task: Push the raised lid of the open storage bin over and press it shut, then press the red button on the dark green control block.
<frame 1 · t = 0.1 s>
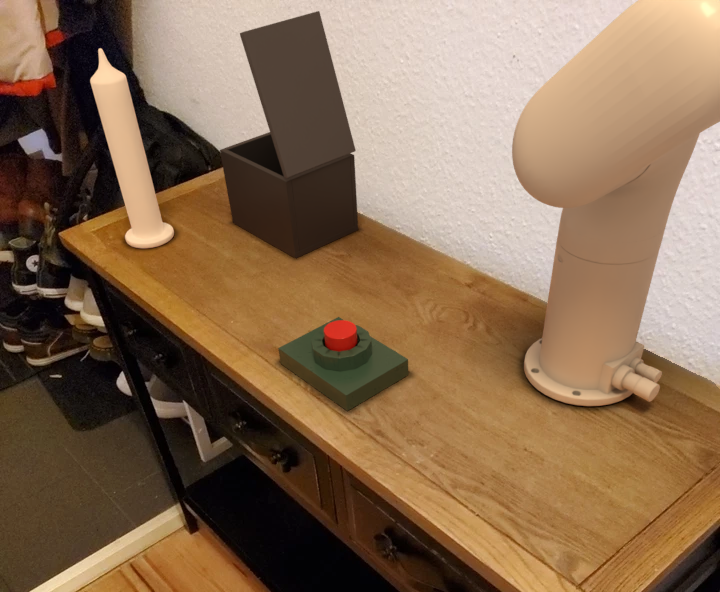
red button: (340, 335, 81), point 5 cm above the table, slide at 0.2 cm
open storage bin: (294, 226, 110), on the table
candle: (150, 238, 110), on the table
lid: (301, 96, 93), point 19 cm above the table, hinge at 70.0°
control block: (343, 369, 84), on the table
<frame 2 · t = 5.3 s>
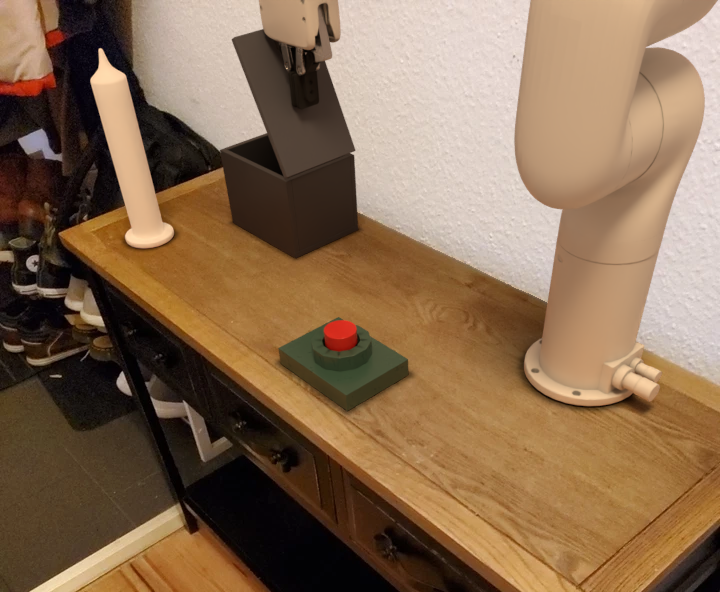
hand: (305, 104, 94), 18 cm above the table, tool pointing down, fingers closed
lid: (297, 98, 94), point 19 cm above the table, hinge at 62.2°, touching gripper
everything else where it was.
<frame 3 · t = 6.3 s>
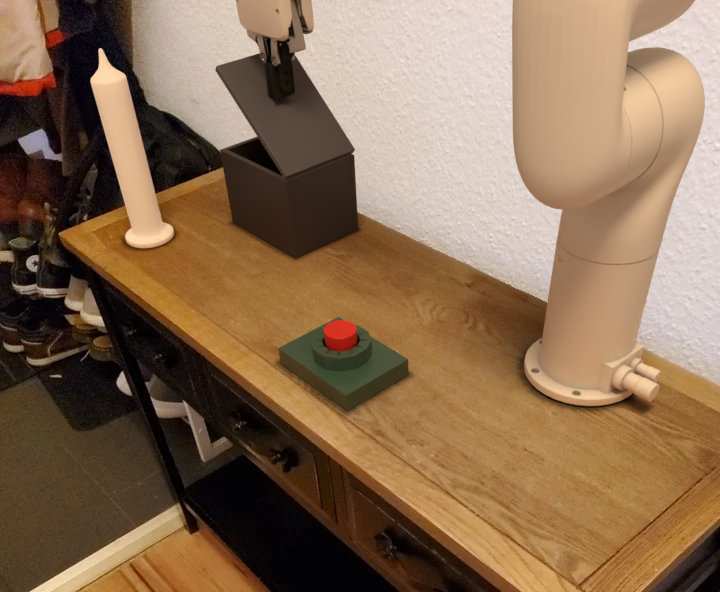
hand: (281, 95, 96), 18 cm above the table, tool pointing down, fingers closed
lid: (286, 110, 97), point 16 cm above the table, hinge at 39.2°
everything else where it was.
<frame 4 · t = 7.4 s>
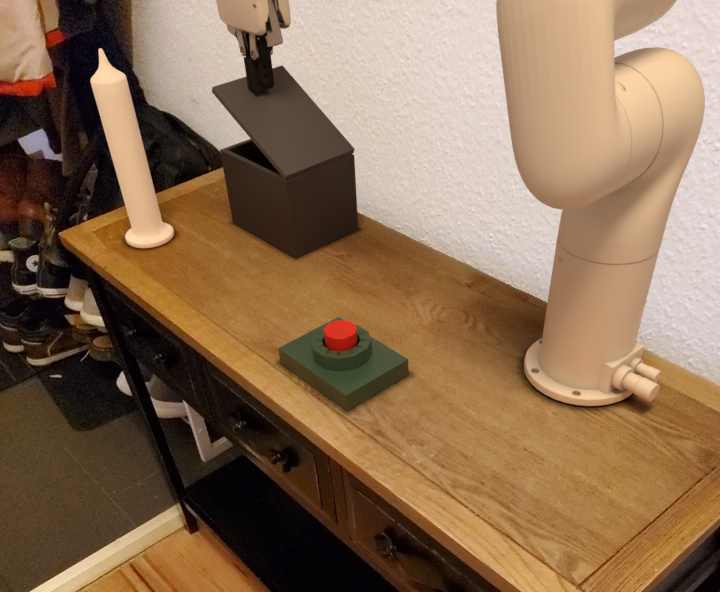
hand: (261, 88, 99), 18 cm above the table, tool pointing down, fingers closed
lid: (283, 120, 99), point 15 cm above the table, hinge at 27.1°, touching gripper
everything else where it was.
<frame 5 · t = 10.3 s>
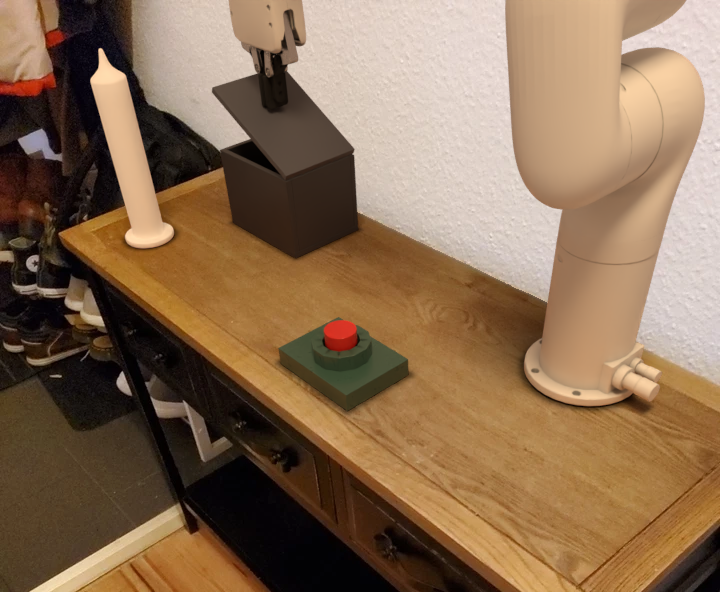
hand: (275, 105, 98), 17 cm above the table, tool pointing down, fingers closed
nothing on the table moved.
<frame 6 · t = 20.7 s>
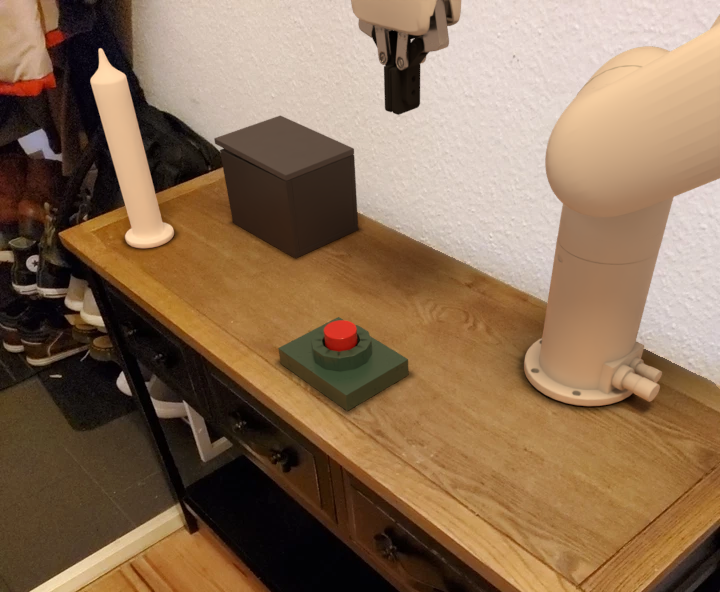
hand: (402, 108, 72), 25 cm above the table, tool pointing down, fingers closed
lid: (283, 146, 102), point 11 cm above the table, hinge at 1.7°
everything else where it was.
at the end: lid at +2° (first picture: +70°); red button pushed in 1.1 cm at the most during the clip, back to where it started at the end; red button slide at 0.1 cm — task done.
